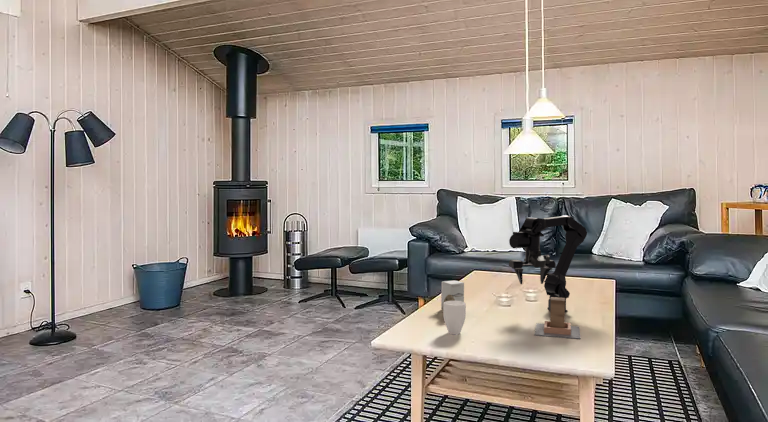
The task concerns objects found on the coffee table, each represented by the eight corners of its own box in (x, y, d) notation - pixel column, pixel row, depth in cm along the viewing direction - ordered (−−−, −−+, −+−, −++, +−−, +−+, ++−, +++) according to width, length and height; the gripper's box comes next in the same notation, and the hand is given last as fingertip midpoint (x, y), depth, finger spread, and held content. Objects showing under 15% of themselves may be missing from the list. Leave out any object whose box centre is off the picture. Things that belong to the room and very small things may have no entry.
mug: (463, 337, 197) (463, 306, 197) (440, 334, 200) (440, 304, 199) (469, 328, 208) (469, 299, 208) (448, 326, 211) (448, 297, 211)
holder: (536, 324, 214) (536, 318, 214) (579, 327, 209) (579, 321, 209) (534, 335, 199) (534, 328, 199) (580, 339, 194) (580, 332, 194)
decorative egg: (456, 316, 226) (456, 293, 226) (457, 320, 220) (457, 296, 220) (441, 316, 227) (441, 292, 226) (442, 320, 221) (442, 296, 220)
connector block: (550, 327, 207) (551, 297, 206) (564, 329, 206) (564, 297, 205) (550, 331, 202) (550, 299, 202) (564, 332, 201) (564, 300, 200)
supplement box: (450, 313, 232) (450, 284, 231) (440, 309, 239) (440, 281, 238) (464, 311, 235) (464, 282, 235) (454, 307, 242) (454, 279, 241)
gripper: (519, 250, 218) (518, 288, 219) (562, 249, 221) (561, 287, 222) (508, 246, 229) (507, 283, 230) (549, 246, 232) (548, 282, 233)
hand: (531, 284), depth 229 cm, fingers open, 9 cm apart
